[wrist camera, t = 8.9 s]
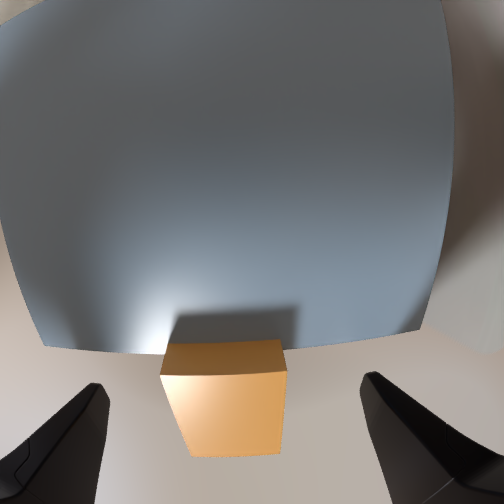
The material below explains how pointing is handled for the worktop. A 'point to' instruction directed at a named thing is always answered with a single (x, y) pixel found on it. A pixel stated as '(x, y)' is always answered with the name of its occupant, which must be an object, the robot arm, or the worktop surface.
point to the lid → (225, 186)
